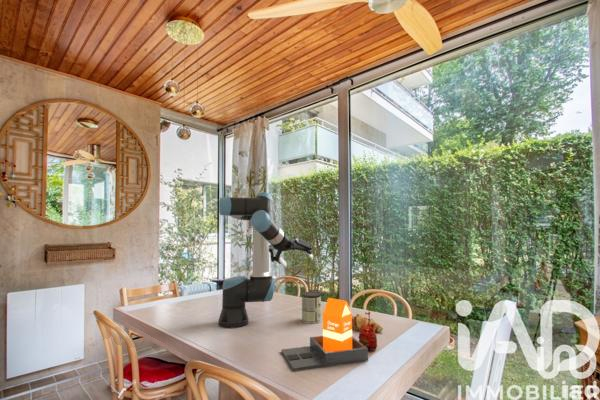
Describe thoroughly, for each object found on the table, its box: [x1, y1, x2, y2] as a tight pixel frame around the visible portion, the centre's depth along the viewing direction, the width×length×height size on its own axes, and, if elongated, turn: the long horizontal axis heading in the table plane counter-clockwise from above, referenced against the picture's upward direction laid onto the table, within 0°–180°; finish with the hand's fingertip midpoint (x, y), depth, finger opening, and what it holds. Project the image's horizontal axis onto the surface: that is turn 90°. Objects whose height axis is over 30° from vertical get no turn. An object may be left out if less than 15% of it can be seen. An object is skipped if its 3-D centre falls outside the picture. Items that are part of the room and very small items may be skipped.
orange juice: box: [322, 297, 353, 352], centre depth 120 cm, size 8×9×20 cm
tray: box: [281, 335, 369, 372], centre depth 118 cm, size 29×17×4 cm, turn 107°
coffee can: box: [301, 291, 322, 325], centre depth 163 cm, size 10×10×14 cm
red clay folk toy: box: [358, 310, 378, 352], centre depth 126 cm, size 8×7×15 cm
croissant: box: [352, 313, 384, 333], centre depth 150 cm, size 21×10×8 cm
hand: (298, 261), depth 143 cm, fingers open, 13 cm apart
